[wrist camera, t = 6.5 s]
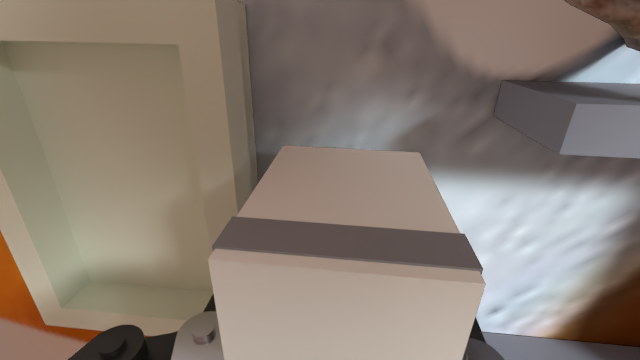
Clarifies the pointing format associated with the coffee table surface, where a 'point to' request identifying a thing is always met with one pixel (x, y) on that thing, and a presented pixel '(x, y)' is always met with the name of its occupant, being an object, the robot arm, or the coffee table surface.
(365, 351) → the off-white bevelled block
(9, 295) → the coffee table surface
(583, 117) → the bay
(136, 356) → the robot arm
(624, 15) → the geological specimen
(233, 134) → the tray
